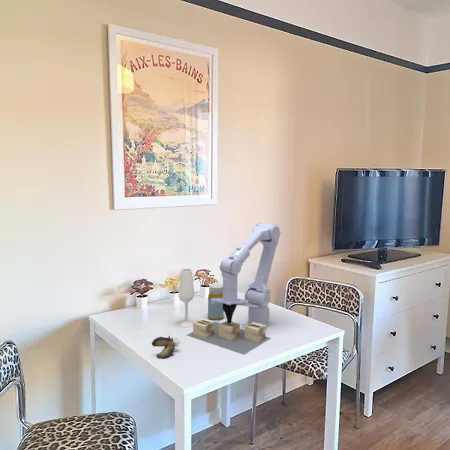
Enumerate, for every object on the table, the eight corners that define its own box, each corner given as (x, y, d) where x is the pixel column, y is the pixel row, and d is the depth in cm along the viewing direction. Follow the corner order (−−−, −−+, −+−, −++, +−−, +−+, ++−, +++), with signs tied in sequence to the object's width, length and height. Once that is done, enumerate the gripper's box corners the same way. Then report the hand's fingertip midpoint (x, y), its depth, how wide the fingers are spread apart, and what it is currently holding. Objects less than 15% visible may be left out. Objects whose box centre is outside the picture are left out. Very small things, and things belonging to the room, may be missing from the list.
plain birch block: (227, 332, 171) (227, 320, 170) (239, 335, 167) (239, 323, 167) (218, 336, 166) (218, 324, 166) (230, 340, 163) (231, 328, 162)
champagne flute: (175, 325, 178) (175, 270, 174) (184, 320, 184) (184, 267, 180) (188, 329, 175) (188, 272, 171) (197, 323, 181) (197, 269, 177)
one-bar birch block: (252, 333, 170) (253, 321, 169) (265, 337, 166) (265, 325, 165) (244, 338, 165) (244, 326, 164) (257, 342, 161) (257, 329, 161)
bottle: (225, 320, 185) (226, 287, 183) (211, 322, 183) (211, 288, 181) (220, 315, 192) (220, 283, 190) (205, 316, 189) (206, 284, 187)
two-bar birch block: (202, 330, 172) (202, 318, 172) (214, 334, 169) (214, 321, 168) (193, 334, 168) (193, 322, 167) (204, 338, 164) (204, 326, 163)
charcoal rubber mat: (215, 322, 182) (215, 321, 182) (271, 339, 166) (271, 338, 166) (186, 336, 167) (186, 335, 167) (244, 355, 151) (244, 354, 151)
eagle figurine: (163, 343, 158) (147, 347, 150) (173, 329, 156) (157, 332, 148) (175, 358, 154) (159, 363, 147) (185, 344, 152) (170, 348, 145)
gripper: (210, 291, 161) (209, 324, 163) (247, 293, 159) (246, 327, 161) (213, 285, 168) (212, 318, 170) (249, 287, 166) (248, 320, 168)
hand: (229, 322), depth 166 cm, fingers closed
